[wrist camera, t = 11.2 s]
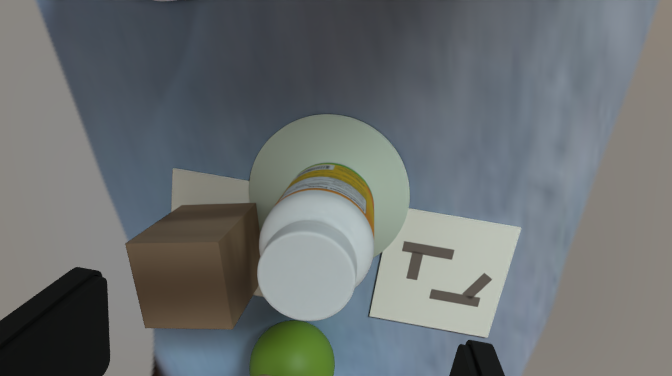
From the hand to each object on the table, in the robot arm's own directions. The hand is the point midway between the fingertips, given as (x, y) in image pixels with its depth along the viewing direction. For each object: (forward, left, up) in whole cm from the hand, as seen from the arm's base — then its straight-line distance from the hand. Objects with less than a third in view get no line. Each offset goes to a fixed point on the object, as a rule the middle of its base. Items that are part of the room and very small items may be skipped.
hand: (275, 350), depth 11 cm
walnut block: (+5, -6, -15) cm, 17 cm away
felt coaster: (+1, 0, -16) cm, 16 cm away
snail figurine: (+11, -1, -16) cm, 19 cm away
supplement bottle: (+1, 0, -15) cm, 15 cm away
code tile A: (+5, +8, -16) cm, 18 cm away
